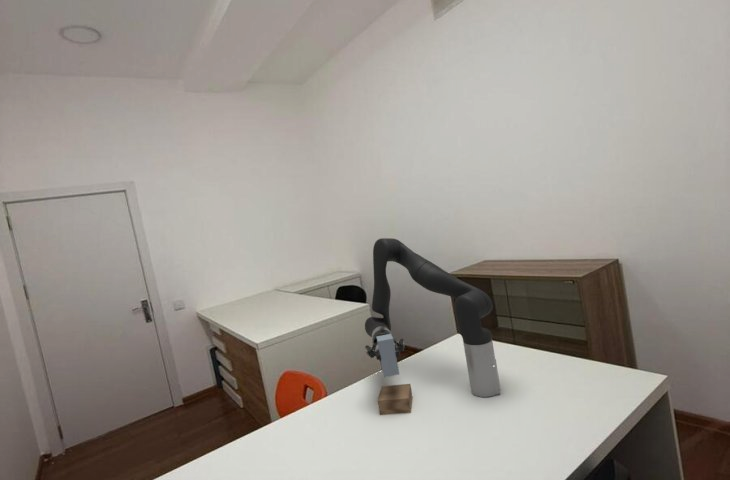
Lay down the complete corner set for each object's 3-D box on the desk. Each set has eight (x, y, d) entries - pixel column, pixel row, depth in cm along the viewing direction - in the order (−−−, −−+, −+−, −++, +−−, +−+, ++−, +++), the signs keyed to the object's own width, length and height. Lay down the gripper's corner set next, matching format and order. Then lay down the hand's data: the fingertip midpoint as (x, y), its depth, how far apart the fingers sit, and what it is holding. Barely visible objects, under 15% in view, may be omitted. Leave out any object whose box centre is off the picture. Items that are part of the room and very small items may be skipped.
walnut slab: (412, 397, 133) (410, 383, 133) (410, 413, 124) (408, 398, 123) (384, 400, 135) (381, 386, 135) (380, 415, 126) (377, 400, 125)
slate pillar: (397, 368, 131) (391, 333, 130) (399, 374, 126) (393, 338, 125) (382, 371, 131) (376, 336, 130) (384, 377, 126) (377, 341, 125)
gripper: (361, 333, 142) (364, 349, 125) (400, 325, 143) (408, 340, 126) (364, 352, 142) (368, 371, 125) (403, 345, 143) (412, 363, 126)
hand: (388, 356), depth 126 cm, fingers closed on slate pillar, 5 cm apart
